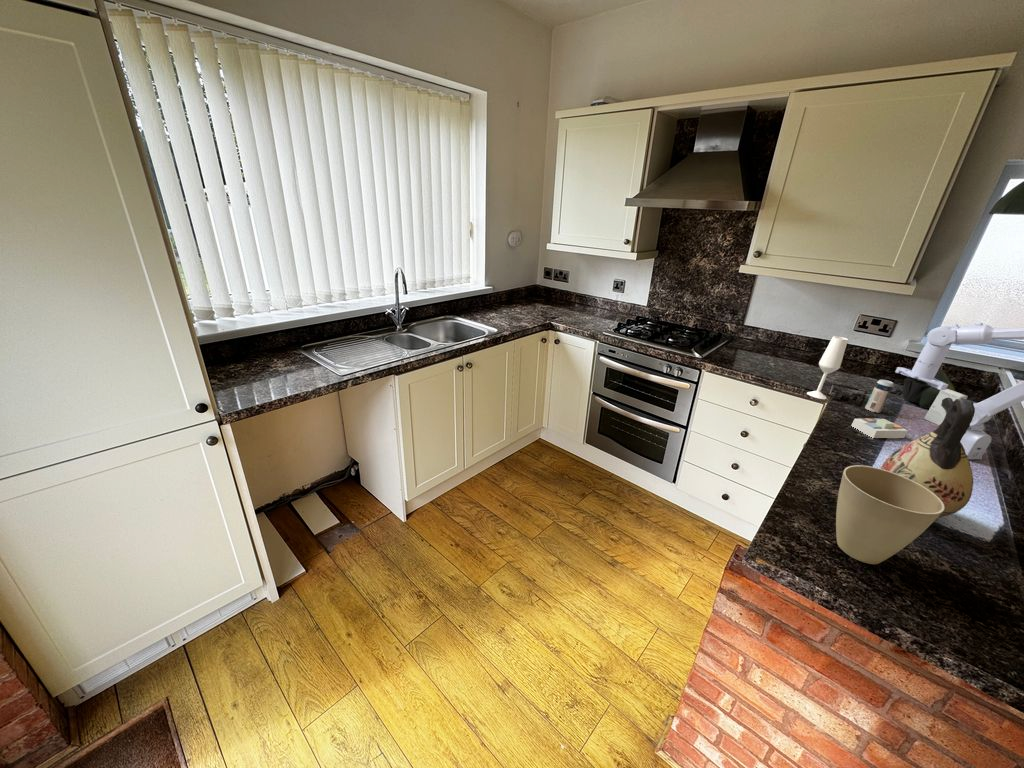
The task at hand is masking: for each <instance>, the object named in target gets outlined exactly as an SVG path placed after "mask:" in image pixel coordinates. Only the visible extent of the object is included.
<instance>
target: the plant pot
mask: <svg viewBox="0 0 1024 768" xmlns="http://www.w3.org/2000/svg"><path fill="white" fill-rule="evenodd" d="M837 495H838V496H837V501H836V515H835V533H836V534H835V535H836V537H835V538H836V543H837V546H838V548H839V549H840V550H842V551H843V552H844V553H845V554H846V555H848V556H849V557H851V558H852V559H855V560H857V561H859V562H862V563H865V564H868V565H879V564H880V563H882V562H885V561H886V560H888V559H890V558H891V557H893V556H894V555H896V554H897V553H899V552H901V550H903V549H904V548H906V547H907V546H908V545H910V544H912V542H914V541H915V540H916V539H917V538H918V537H919V536H920V535H922V534H923V533H924V532H925V531H926V530H927V529H928V528H929V527H930V526H931V525H932V524H933V523H935V522H936V521H937V520H938V518H939V517H938V516H939V515H940V514H941V513H942V512H943V511H944V508H945V507H944V504H943V502H942V501H941V500H940V499H939V498H938V497H937V496H936V495H935V494H934V493H933V492H931V491H930V490H928V489H927V488H925V487H923V486H922V485H920V484H918V483H916V482H914V481H912V480H910V479H908V478H906V477H903V476H901V475H898V474H895V473H893V472H890V471H887V470H883V469H880V467H879V468H878V467H874V466H869V465H859V464H858V465H856V464H855V465H854V464H853V465H850V466H847V467H845V468H844V470H843V473H842V477H841V480H840V485H839V489H838V494H837ZM937 517H938V518H937ZM936 519H937V520H936ZM935 520H936V521H935ZM934 521H935V522H934Z"/></svg>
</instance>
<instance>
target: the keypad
mask: <svg viewBox="0 0 1024 768" xmlns="http://www.w3.org/2000/svg"><path fill="white" fill-rule="evenodd" d="M878 419H880V418H876V417H875V418H873V417H872V418H865V417H863V418H854V419H853V421H852V423H851V425H850V427H851V426H852V428H853V427H854V428H853V429H855V428H856V429H855V430H857V429H858V430H859V432H860V431H861V432H860V433H862V432H863V433H862V434H864V435H865V434H866V435H865V436H867V435H868V436H867V437H869V436H870V437H869V438H871V437H872V438H871V439H873V438H904V439H905V437H906V435H907V433H908V431H909V430H907V429H906V428H903V427H902V429H894V428H892V429H884V428H882V429H874V428H872V427H870V426H868V425H866V424H865V423H875V424H876V422H877V420H878ZM858 430H857V431H858Z"/></svg>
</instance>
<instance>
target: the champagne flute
mask: <svg viewBox="0 0 1024 768" xmlns="http://www.w3.org/2000/svg"><path fill="white" fill-rule="evenodd" d="M848 342H849V339H848V338H847V337H843V336H839V335H832V338H831V339H830V341H829V343H828V345H827V347H826V348H825V351H824V352H823V354H822V356H821V358H820V359H819V362H818V367H819V368H820V369H821V371H822V372H823V375H822V377H821V378H820V382H819V384H818V385H817V386H818V387H817V389H816V390H813V391H807V392H806V394H807V395H808V396H809V397H813V398H816V399H819V400H826V399H827V396H826V395H825V394H824V393H822V392H821V390H822V389H823V386H824V383H825V381H826V378H827V376H828V374H831V373H834V372H836V371H838V370H839V369H840V368H841V365H842V362H843V358H844V354H845V352H846V349H847V344H848Z"/></svg>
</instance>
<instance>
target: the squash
mask: <svg viewBox="0 0 1024 768" xmlns="http://www.w3.org/2000/svg"><path fill="white" fill-rule="evenodd" d="M934 378H935V379H937V380H939V381H941V382H943V383H945V384H948V386H947V388H946V389H949V390H952V391H955V392H957V391H956V389H955V386H954V385H953V383H952V382H951V381H950V379H949V377H948V376H947V374H946V373H945V372H944V370H938V371H937V373H936V375H935V377H934ZM939 392H940V390H939V389H937V388H936V387H933V386H931V387H930V388H928V389H927V390H925V391H924V392H922V393H921V394H920V395H919V396H917V397H916V398H915V399H914V401H913V402H912V401H911V403H916V404H919V407H921V408H922V409H930V407H931V406H932V404H933V402H934V401H935V399H936V397H937V396H938V394H939ZM901 393H902V394H901V395H902V397H903V398H905V382H904V384H903V386H902V390H901Z"/></svg>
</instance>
